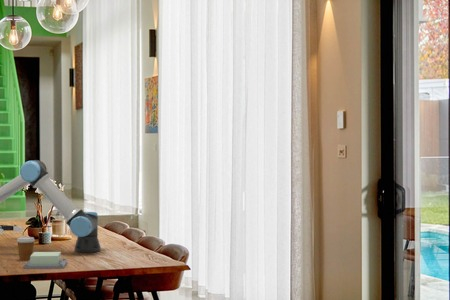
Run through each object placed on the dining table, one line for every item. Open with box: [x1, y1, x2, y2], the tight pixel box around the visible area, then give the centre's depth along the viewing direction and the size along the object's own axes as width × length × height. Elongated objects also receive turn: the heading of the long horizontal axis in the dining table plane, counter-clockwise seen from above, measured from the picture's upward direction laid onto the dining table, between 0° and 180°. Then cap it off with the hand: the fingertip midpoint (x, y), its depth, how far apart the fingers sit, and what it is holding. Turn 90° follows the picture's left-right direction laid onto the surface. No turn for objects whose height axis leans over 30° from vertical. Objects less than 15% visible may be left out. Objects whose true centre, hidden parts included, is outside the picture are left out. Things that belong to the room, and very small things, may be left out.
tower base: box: [22, 251, 68, 270], centre depth 401 cm, size 20×20×6 cm
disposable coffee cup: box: [16, 236, 36, 262], centre depth 418 cm, size 10×10×12 cm
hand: (12, 230), depth 423 cm, fingers open, 13 cm apart
